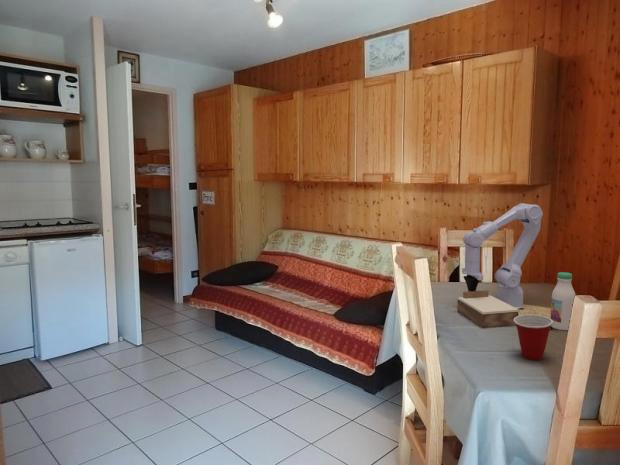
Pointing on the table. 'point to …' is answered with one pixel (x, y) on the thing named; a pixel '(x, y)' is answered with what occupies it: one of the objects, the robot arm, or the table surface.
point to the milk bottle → (562, 301)
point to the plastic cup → (533, 335)
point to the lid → (485, 302)
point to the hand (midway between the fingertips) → (471, 293)
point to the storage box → (487, 317)
